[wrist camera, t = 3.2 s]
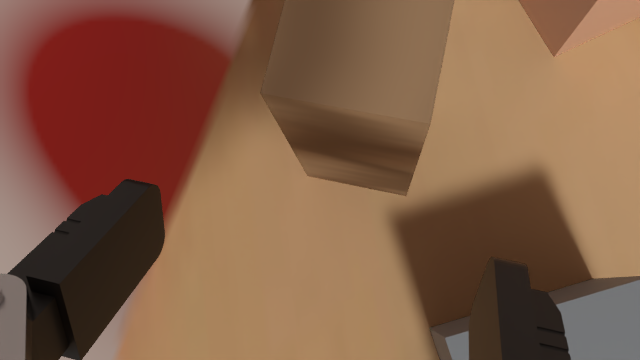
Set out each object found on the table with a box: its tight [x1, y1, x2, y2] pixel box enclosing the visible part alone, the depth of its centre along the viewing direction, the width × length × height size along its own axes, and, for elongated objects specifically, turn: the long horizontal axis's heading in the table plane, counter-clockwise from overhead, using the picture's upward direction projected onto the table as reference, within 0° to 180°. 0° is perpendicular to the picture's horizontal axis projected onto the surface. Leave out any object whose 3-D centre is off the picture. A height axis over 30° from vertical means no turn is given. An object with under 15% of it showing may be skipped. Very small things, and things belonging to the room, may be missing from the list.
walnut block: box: [261, 0, 454, 196], centre depth 19 cm, size 4×4×10 cm
